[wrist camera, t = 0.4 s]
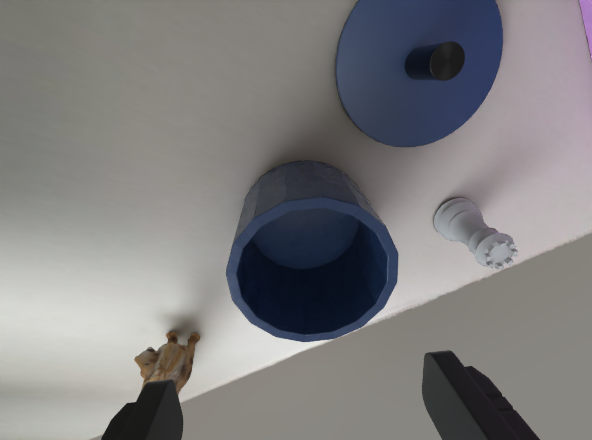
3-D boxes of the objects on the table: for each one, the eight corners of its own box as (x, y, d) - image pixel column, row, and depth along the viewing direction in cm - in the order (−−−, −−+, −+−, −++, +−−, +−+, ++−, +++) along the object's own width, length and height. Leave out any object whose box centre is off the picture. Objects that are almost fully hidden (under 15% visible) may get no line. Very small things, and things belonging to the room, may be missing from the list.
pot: (295, 132, 29) (302, 159, 20) (390, 211, 32) (433, 264, 23) (218, 230, 32) (193, 291, 23) (311, 290, 36) (321, 363, 27)
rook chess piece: (482, 216, 33) (539, 255, 26) (446, 242, 34) (491, 288, 27) (460, 187, 32) (513, 221, 24) (423, 216, 33) (464, 257, 25)
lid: (421, -85, 23) (465, -135, 17) (526, 51, 27) (589, 45, 21) (301, 76, 27) (306, 77, 21) (408, 173, 31) (435, 194, 25)
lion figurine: (159, 304, 36) (123, 371, 28) (206, 311, 37) (184, 379, 28) (151, 390, 42) (120, 467, 34) (192, 395, 42) (171, 471, 34)
